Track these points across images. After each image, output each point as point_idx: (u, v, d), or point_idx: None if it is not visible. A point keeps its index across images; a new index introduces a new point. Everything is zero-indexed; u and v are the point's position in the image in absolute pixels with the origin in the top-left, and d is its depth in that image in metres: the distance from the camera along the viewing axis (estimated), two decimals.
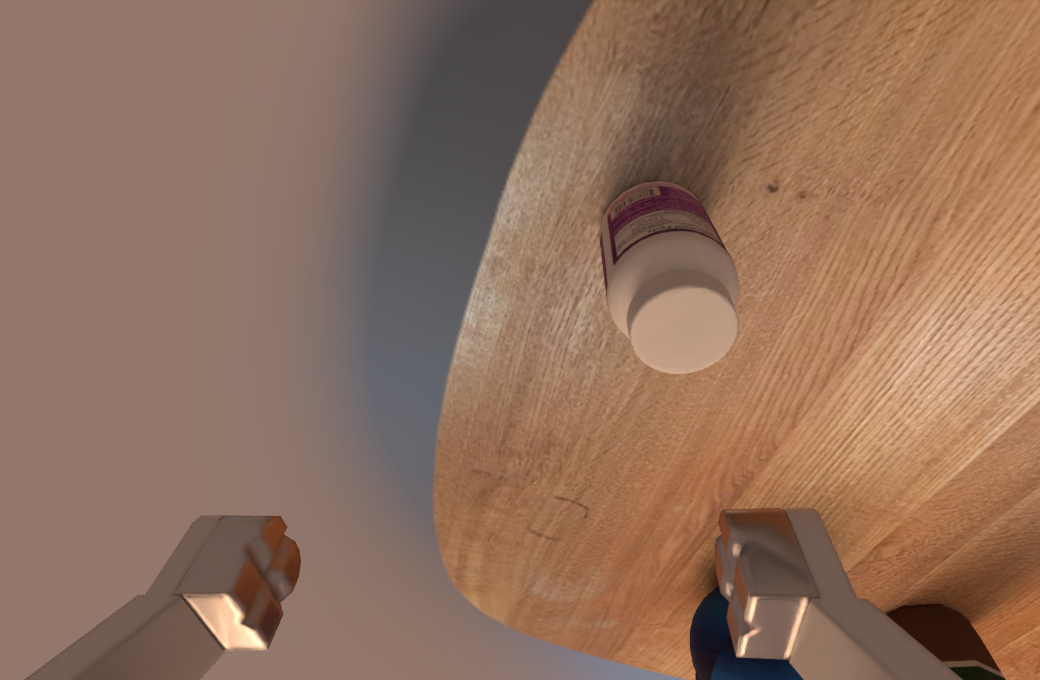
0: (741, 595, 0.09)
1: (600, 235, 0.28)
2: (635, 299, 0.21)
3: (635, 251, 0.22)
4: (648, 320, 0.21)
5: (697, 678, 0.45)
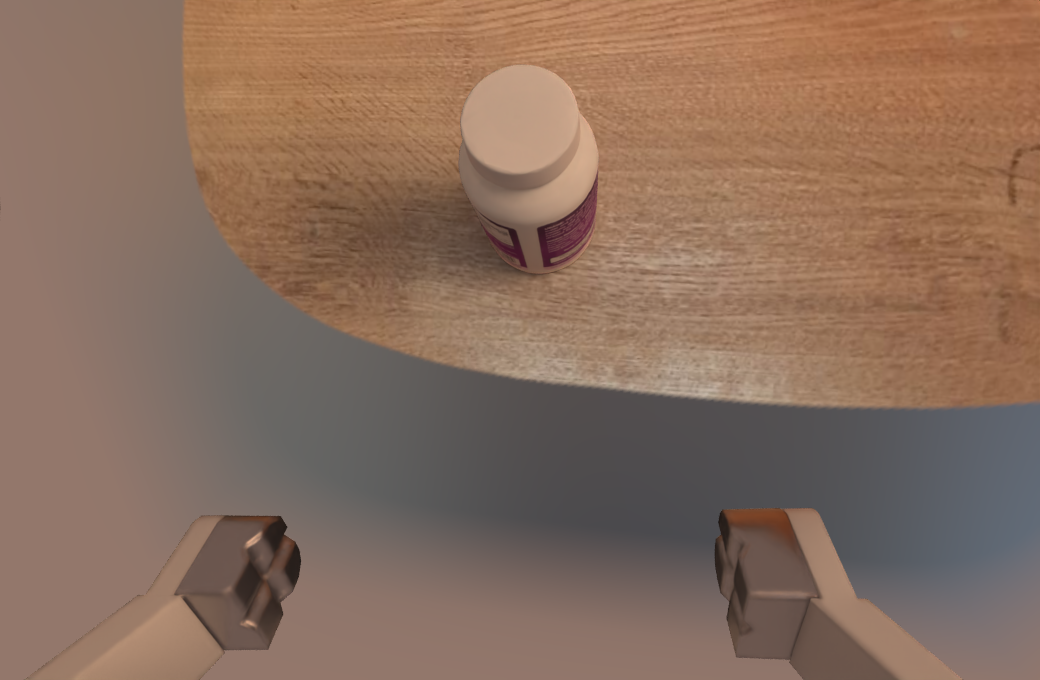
0: (741, 595, 0.09)
1: (549, 268, 0.26)
2: (507, 185, 0.19)
3: (485, 211, 0.21)
4: (511, 158, 0.18)
5: None
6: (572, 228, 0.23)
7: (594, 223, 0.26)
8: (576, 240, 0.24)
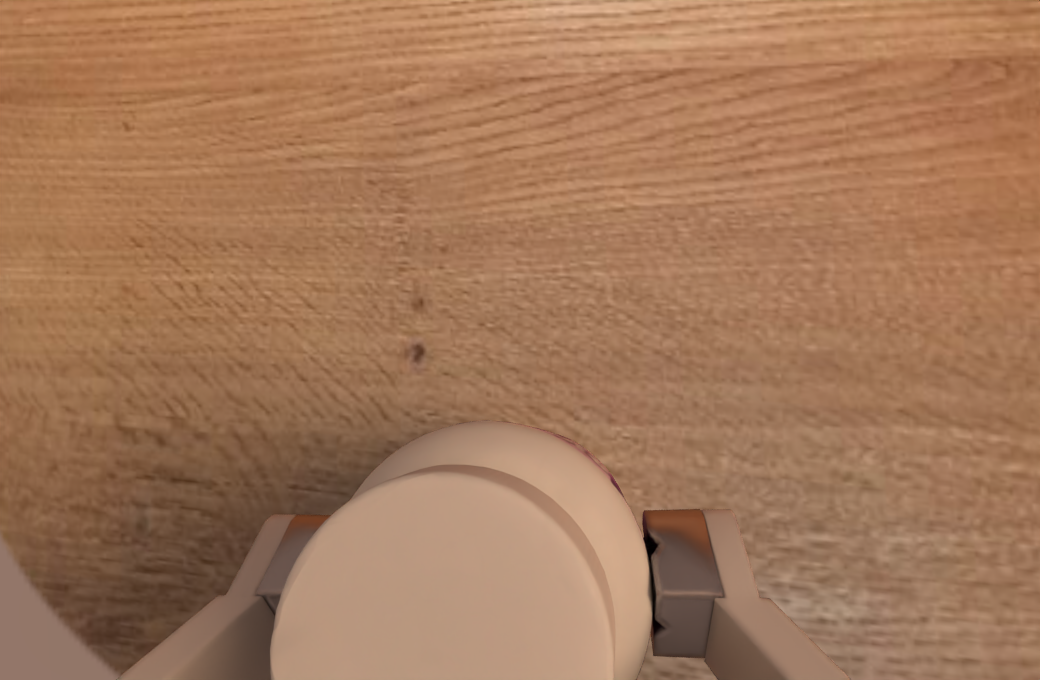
0: (653, 595, 0.09)
1: None
2: None
3: None
4: None
5: None
6: None
7: None
8: None
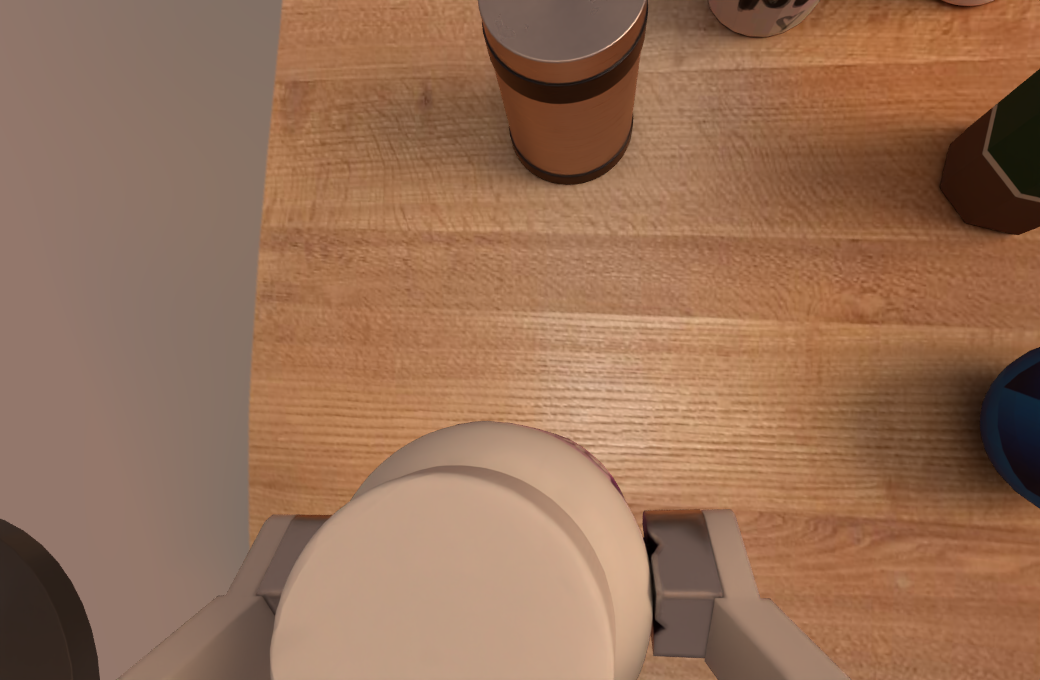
0: (653, 595, 0.09)
1: None
2: None
3: None
4: None
5: None
6: None
7: None
8: None
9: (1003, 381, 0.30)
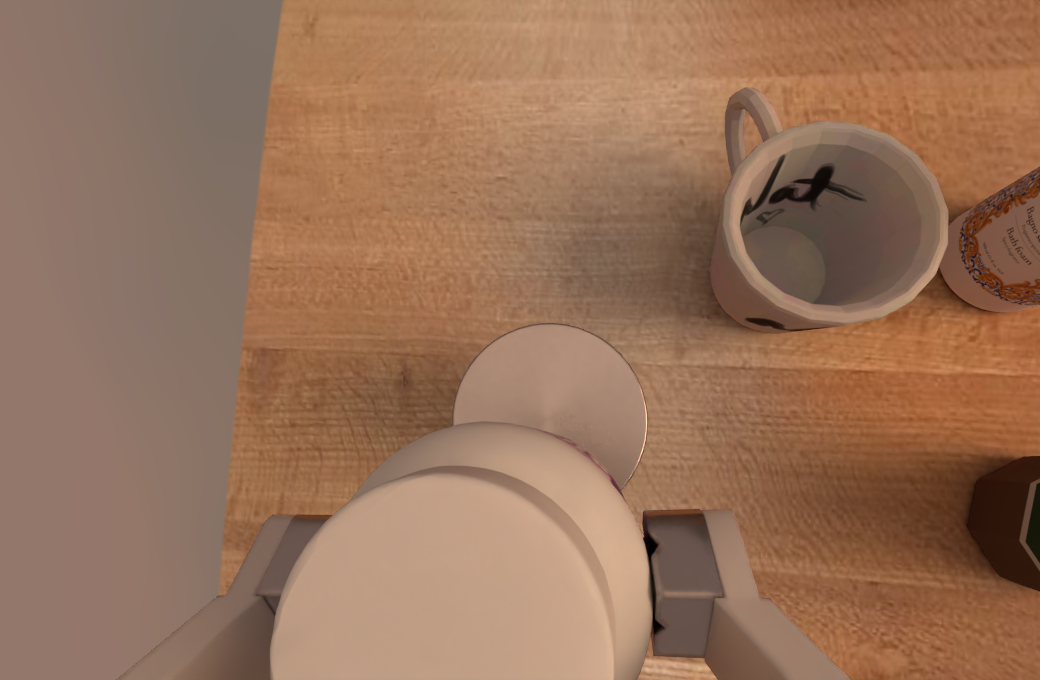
0: (653, 595, 0.09)
1: None
2: None
3: None
4: None
5: None
6: None
7: None
8: None
9: None
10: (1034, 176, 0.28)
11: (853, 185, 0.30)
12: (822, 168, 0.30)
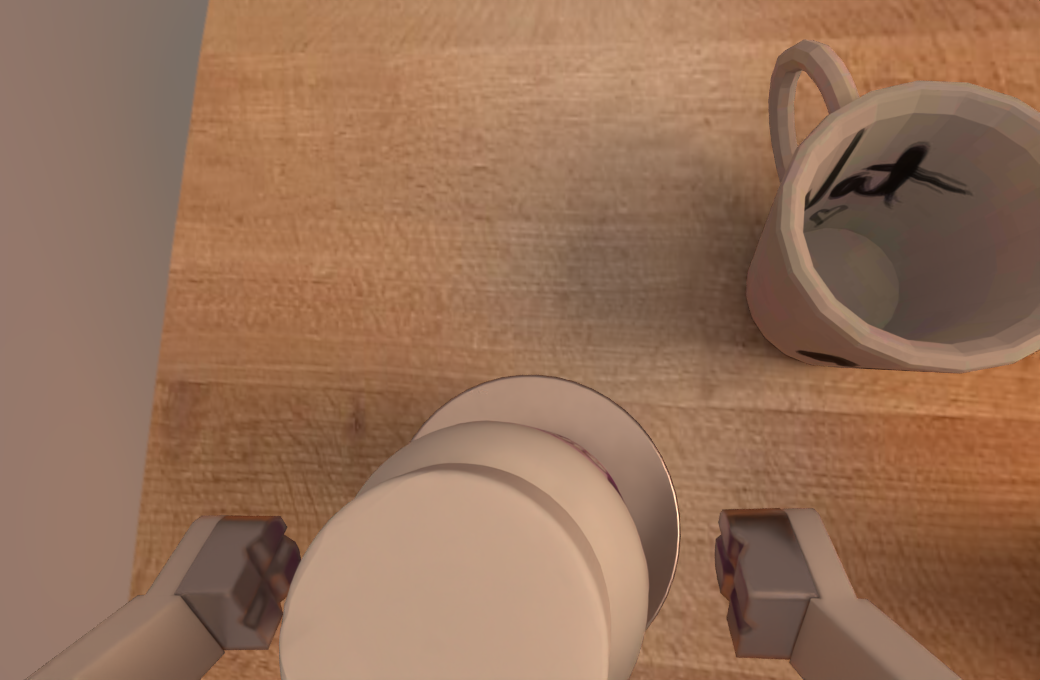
0: (741, 595, 0.09)
1: None
2: None
3: None
4: None
5: None
6: None
7: None
8: None
9: None
10: None
11: (953, 172, 0.22)
12: (910, 150, 0.22)
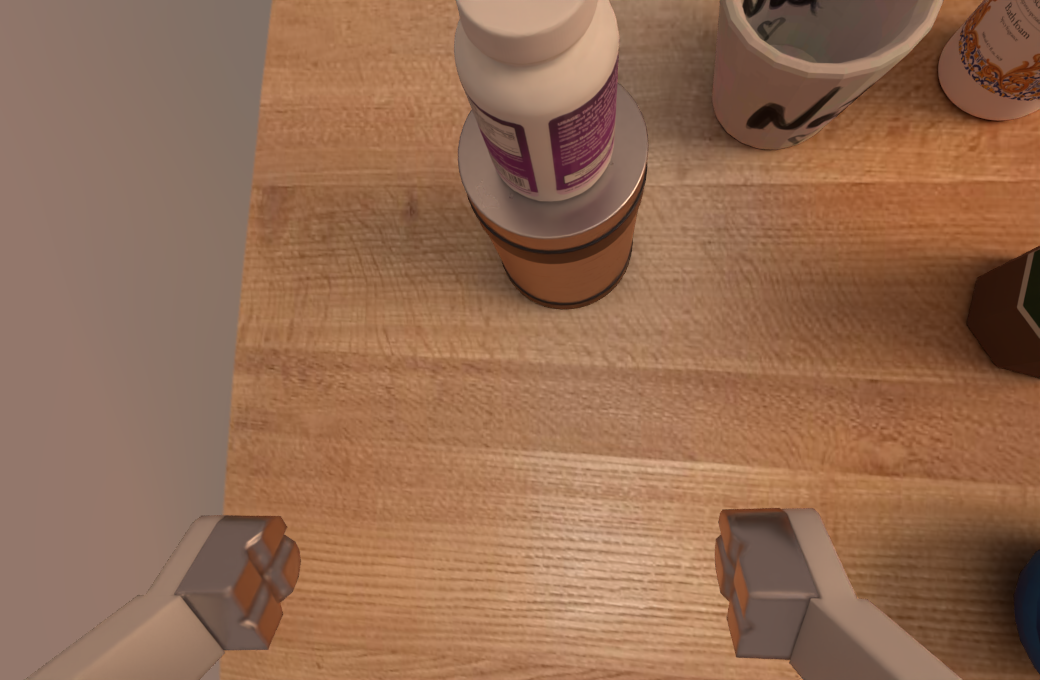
0: (741, 595, 0.09)
1: (563, 192, 0.23)
2: (512, 57, 0.16)
3: (486, 104, 0.18)
4: (516, 17, 0.15)
5: None
6: (589, 130, 0.19)
7: (613, 137, 0.23)
8: (594, 151, 0.21)
9: None
10: None
11: None
12: None
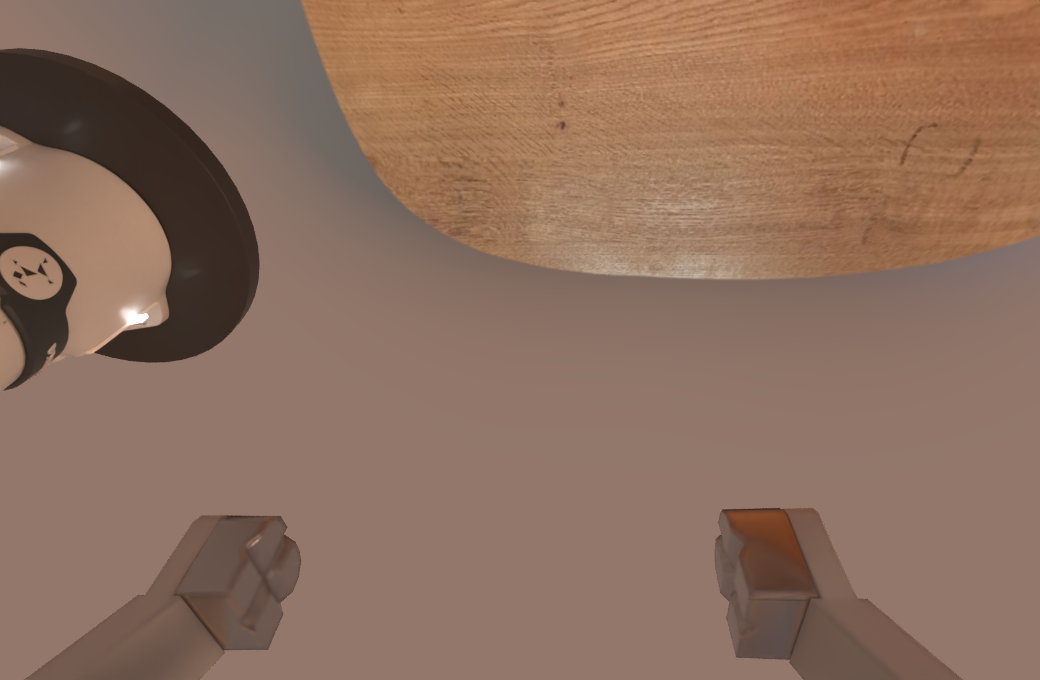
0: (741, 595, 0.09)
1: None
2: None
3: None
4: None
5: None
6: None
7: None
8: None
9: None
10: None
11: None
12: None
